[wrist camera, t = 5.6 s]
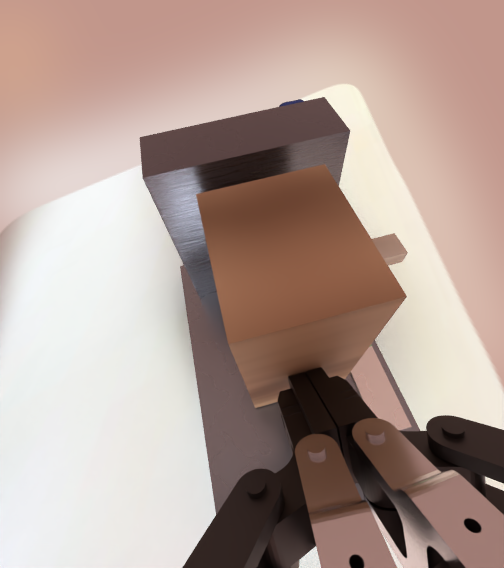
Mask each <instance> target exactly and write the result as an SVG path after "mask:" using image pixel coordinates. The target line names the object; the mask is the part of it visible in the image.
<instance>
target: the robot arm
mask: <svg viewBox="0 0 504 568" xmlns="http://www.w3.org/2000/svg"><path fill="white" fill-rule="evenodd" d="M288 381H289V386H290V389H287V390H284V391H280V393H279V396H278V405H279V409H280V413H281V417H282V421H283V425H284V429H285V433H286V436H287V439H288V442H289V445H290V448H291V451H292V458H291V460H290V461H289V463H288V464H287V465H286V466H285V467H284V468H282V469H281V470H280V471H278V472H277V473H274V472H272V471H270V470H268V469H262V468H260V469H254V470H251V471H249V472H247V473H246V474H244V475H243V476H242V477H241V478H240V479H239V481H238V482H237V483H236V485H235V487H234V488H233V490H232V491H231V493H230V494H229V496H228V498H227V499H226V501H225V502H224V504H223V505H222V507H221V508H220V510H219V512H218V513H217V515H216V516H215V518H214V519H213V521H212V522H211V524H210V526H209V527H208V529H207V530H206V532H205V533H204V535H203V537H202V538H201V540H200V541H199V543H198V544H197V546H196V547H195V549H194V551H193V552H192V554H191V555H190V557H189V558H188V560H187V562H186V563H185V565H184V566H183V568H299V559H301V558H302V557H303V556H304V555H305V554H307V553H308V552H309V551H310V550H311V549H313V548H314V547H315V546H316V547H317V551H318V555H319V559H320V564H321V568H397V567H396V564H395V562H394V560H393V558H392V556H391V553H390V551H389V549H388V547H387V544H386V542H385V540H384V538H383V535H384V537H385V538H386V540H387V542H388V543H389V545H390V547H391V548H392V550H393V552H394V553H395V555H396V556H397V558H398V560H399V561H400V563H401V565H402V566H403V568H504V491H503V490H500V489H498V488H495V487H492V486H490V485H487V484H485V476H486V477H488V478H491V479H493V480H496V481H499V482H501V483H504V430H502V429H498V428H495V427H491V426H488V425H484V424H480V423H477V422H473V421H470V420H466V419H463V418H459V417H455V416H446V415H445V416H437V417H434V418H432V419H431V420H430V421H429V422H428V423H427V426H426V429H427V431H400V430H398V429H397V428H396V427H395V426H394V425H392V424H391V423H389V422H388V421H385V420H383V419H379V418H377V417H376V415H375V414H374V413H373V412H372V411H371V409H370V408H369V407H368V406H367V404H366V403H365V402H364V401H363V399H362V398H361V397H360V396H359V395H358V393H357V392H356V391H355V390H354V389H353V387H352V386H351V385H350V384H349V382H348V381H347V380H345V379H343V378H341V377H339V376H334V377H330V378H329V377H328V375H327V374H326V372H325V371H324V370H323V368H322V367H320V368H317V369H313V370H310V371H306V372H303V373H299V374H295V375H292V376H288ZM356 483H359V485H360V487H361V489H362V491H363V497H364V500H362V499H361V497H360V495H359V492H358V490H357V488H356V485H355V484H356ZM380 530H381V531H380ZM381 532H382V533H381ZM382 534H383V535H382Z"/></svg>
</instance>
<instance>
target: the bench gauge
mask: <svg viewBox="0 0 504 568" xmlns="http://www.w3.org/2000/svg"><path fill="white" fill-rule="evenodd" d="M349 134H350V130H349V128H348V127H347V126H346V125H345V123H344V122H343V121H342V119H341V118H340V117H339V116H338V114H337V113H336V112H335V110H334V109H333V108H332V106H331V105H330V104H329V103H328V101H327V100H326V99H325V97H322V98H318V99H313V100H309V101H304V102H300V103H295V104H290V105H286V106H281V107H277V108H272V109H268V110H263V111H258V112H254V113H249V114H245V115H240V116H236V117H231V118H226V119H222V120H217V121H213V122H208V123H203V124H199V125H194V126H190V127H185V128H181V129H176V130H172V131H167V132H163V133H158V134H153V135H149V136H144V137H140V147H141V161H142V174H143V179H144V181H145V184H146V186H147V188H148V190H149V192H150V194H151V196H152V198H153V200H154V203H155V205H156V207H157V209H158V211H159V213H160V215H161V217H162V219H163V221H164V224H165V226H166V228H167V230H168V232H169V234H170V236H171V238H172V240H173V243H174V245H175V247H176V249H177V251H178V253H179V255H180V257H181V259H182V261H183V264H184V266H180V268H181V275H182V282H183V289H184V296H185V303H186V310H187V316H188V323H189V330H190V337H191V344H192V351H193V358H194V365H195V372H196V378H197V385H198V392H199V399H200V406H201V413H202V420H203V427H204V434H205V440H206V447H207V454H208V461H209V468H210V475H211V482H212V489H213V495H214V502H215V509H216V515H217V513H218V512H219V510H220V508H221V507H222V505H223V504H224V502H225V501H226V499H227V498H228V496H229V494H230V493H231V491H232V490H233V488H234V487H235V485H236V483H237V482H238V481H239V479H240V478H241V477H242V476H243V475H244V474H246V473H247V472H249V471H251V470H254V469H260V468H262V469H268V470H270V471H272V472H274V473H277V472H278V471H280V470H281V469H282V468H284V467H285V466H286V465H287V464H288V463H289V461H290V460H291V458H292V451H291V448H290V445H289V442H288V439H287V436H286V433H285V429H284V425H283V421H282V417H281V413H280V409H279V405H278V402H275V403H272V404H268V405H265V406H261V407H257V408H255V406H254V404H253V402H252V399H251V397H250V394H249V392H248V390H247V387H246V385H245V383H244V380H243V378H242V375H241V373H240V371H239V368H238V366H237V363H236V361H235V359H234V356H233V354H232V352H231V349H230V347H229V344H228V340H227V336H226V331H225V326H224V322H223V317H222V312H221V308H220V303H219V299H218V294H217V289H216V285H215V280H214V276H213V271H212V266H211V262H210V257H209V252H208V248H207V243H206V239H205V234H204V229H203V225H202V220H201V216H200V211H199V206H198V202H197V197H196V194H199V193H203V192H207V191H212V190H216V189H220V188H225V187H229V186H233V185H237V184H242V183H246V182H250V181H255V180H259V179H263V178H267V177H272V176H276V175H280V174H285V173H289V172H293V171H297V170H302V169H306V168H310V167H315V166H319V165H323V164H325V165H326V167H327V168H328V170H329V172H330V173H331V175H332V176H333V178H334V180H335V181H336V183H337V185H338V186H339V182H340V177H341V172H342V167H343V163H344V158H345V153H346V148H347V144H348V139H349ZM345 380H347V381H348V382H349V384H350V385H351V386H352V387H353V389H354V390H355V391H356V392H357V393H358V395H359V396H360V397H361V398H362V399H363V401H364V402H365V403H366V404H367V406H368V407H369V408H370V409H371V411H372V412H373V413H374V414H375V415H376V417H377V418H379V419H383V420H385V421H388V422H389V423H391V424H392V425H394V426H395V427H396V428H397V429H398V430H400V431H420V429H419V427H418V425H417V423H416V421H415V419H414V417H413V415H412V413H411V411H410V409H409V407H408V405H407V403H406V401H405V399H404V397H403V395H402V393H401V392H400V390H399V388H398V386H397V384H396V382H395V380H394V378H393V376H392V374H391V372H390V370H389V368H388V366H387V364H386V362H385V360H384V358H383V356H382V354H381V352H380V350H379V348H378V346H377V344H376V342H375V340H374V341H373V342H372V344H371V345H370V346H369V348H368V349H367V350H366V352H365V353H364V354H363V356H362V357H361V358H360V360H359V361H358V362H357V364H356V365H355V366H354V368H353V369H352V370H351V372H350V373H349V374H348V376H347V377H346V378H345ZM355 485H356V488H357V490H358V492H359V495H360V497H361V499H362V500H364V497H363V491H362V489H361V487H360V485H359V483H356V484H355Z"/></svg>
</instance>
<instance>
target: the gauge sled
mask: <svg viewBox="0 0 504 568" xmlns="http://www.w3.org/2000/svg"><path fill="white" fill-rule="evenodd" d="M196 197H197V202H198V206H199V211H200V216H201V220H202V225H203V229H204V234H205V239H206V243H207V248H208V252H209V257H210V262H211V266H212V271H213V276H214V280H215V285H216V289H217V294H218V299H219V303H220V308H221V312H222V317H223V322H224V326H225V331H226V336H227V340H228V344H229V347H230V349H231V352H232V354H233V356H234V359H235V361H236V363H237V366H238V368H239V371H240V373H241V375H242V378H243V380H244V383H245V385H246V387H247V390H248V392H249V394H250V397H251V399H252V402H253V404H254V406H255V408H257V407H261V406H265V405H268V404H272V403H275V402H278V396H279V393H280V391H284V390H287V389H290V386H289V381H288V376H292V375H295V374H299V373H303V372H306V371H310V370H313V369H317V368H320V367H322V368H323V370H324V371H325V372H326V374H327V375H328V377H329V378H330V377H334V376H339V377H341V378H343V379H345V378H346V377H347V376H348V374H349V373H350V372H351V370H352V369H353V368H354V366H355V365H356V364H357V362H358V361H359V360H360V358H361V357H362V356H363V354H364V353H365V352H366V350H367V349H368V348H369V346H370V345H371V344H372V342H373V341H374V340H375V338H376V337H377V336H378V334H379V333H380V332H381V330H382V329H383V328H384V326H385V325H386V324H387V322H388V321H389V320H390V318H391V317H392V316H393V314H394V313H395V312H396V310H397V309H398V308H399V306H400V305H401V304H402V302H403V301H404V300H405V298H406V297H407V296H406V294H405V293H404V291H403V290H402V288H401V286H400V285H399V283H398V281H397V280H396V278H395V277H394V275H393V273H392V272H391V270H390V269H389V267H388V265H392V264H396V263H399V262H402V261H403V259H404V258H405V256H406V254H407V253H408V252H407V251H406V249H405V248H404V247H403V245H402V244H401V242H400V241H399V239H398V238H397V236H396V235H395V233H394V234H390V235H386V236H382V237H378V238H374V239H371V238H370V236H369V235H368V233H367V231H366V230H365V228H364V227H363V225H362V223H361V222H360V220H359V218H358V217H357V215H356V214H355V212H354V210H353V209H352V207H351V206H350V204H349V202H348V201H347V199H346V197H345V196H344V194H343V193H342V191H341V189H340V188H339V186H338V185H337V183H336V181H335V180H334V178H333V176H332V175H331V173H330V172H329V170H328V168H327V167H326V165H325V164H323V165H319V166H315V167H310V168H306V169H302V170H297V171H293V172H289V173H285V174H280V175H276V176H272V177H267V178H263V179H259V180H255V181H250V182H246V183H242V184H237V185H233V186H229V187H225V188H220V189H216V190H212V191H207V192H203V193H199V194H196Z"/></svg>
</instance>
